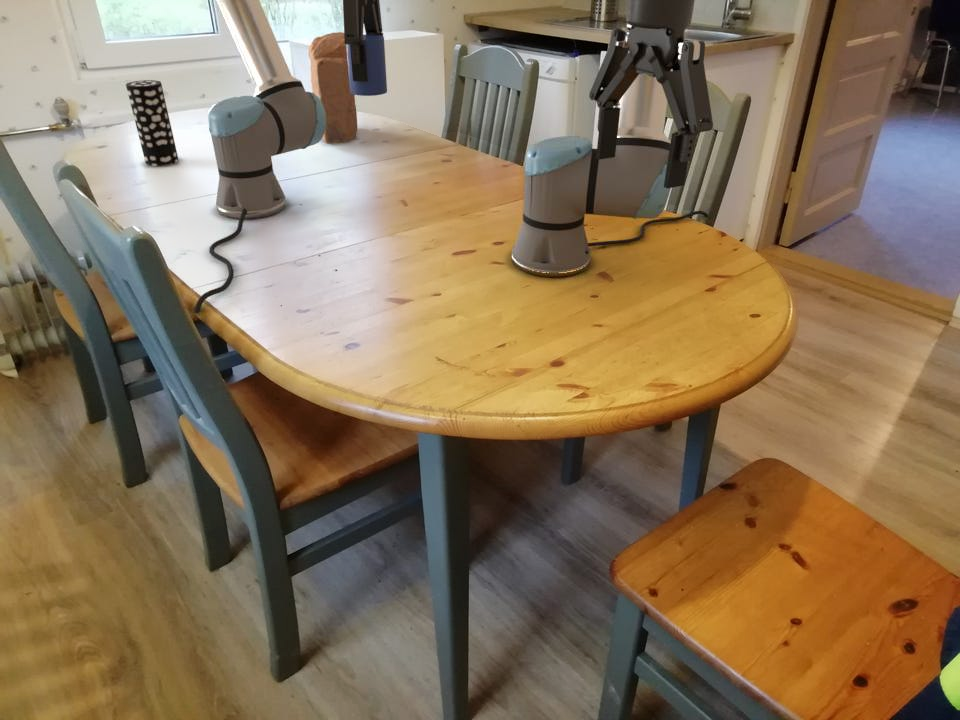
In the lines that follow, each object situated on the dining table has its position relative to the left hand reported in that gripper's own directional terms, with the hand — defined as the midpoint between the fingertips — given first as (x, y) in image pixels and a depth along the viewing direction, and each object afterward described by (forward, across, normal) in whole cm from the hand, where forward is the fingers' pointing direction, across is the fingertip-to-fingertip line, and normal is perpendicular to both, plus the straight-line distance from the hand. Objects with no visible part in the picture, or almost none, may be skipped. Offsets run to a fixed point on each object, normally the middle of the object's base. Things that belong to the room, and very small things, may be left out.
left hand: (367, 77), depth 136 cm
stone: (+30, +65, +35) cm, 79 cm away
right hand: (+1, -46, -53) cm, 70 cm away
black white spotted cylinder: (+20, +27, +70) cm, 78 cm away
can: (+3, 0, 0) cm, 3 cm away
